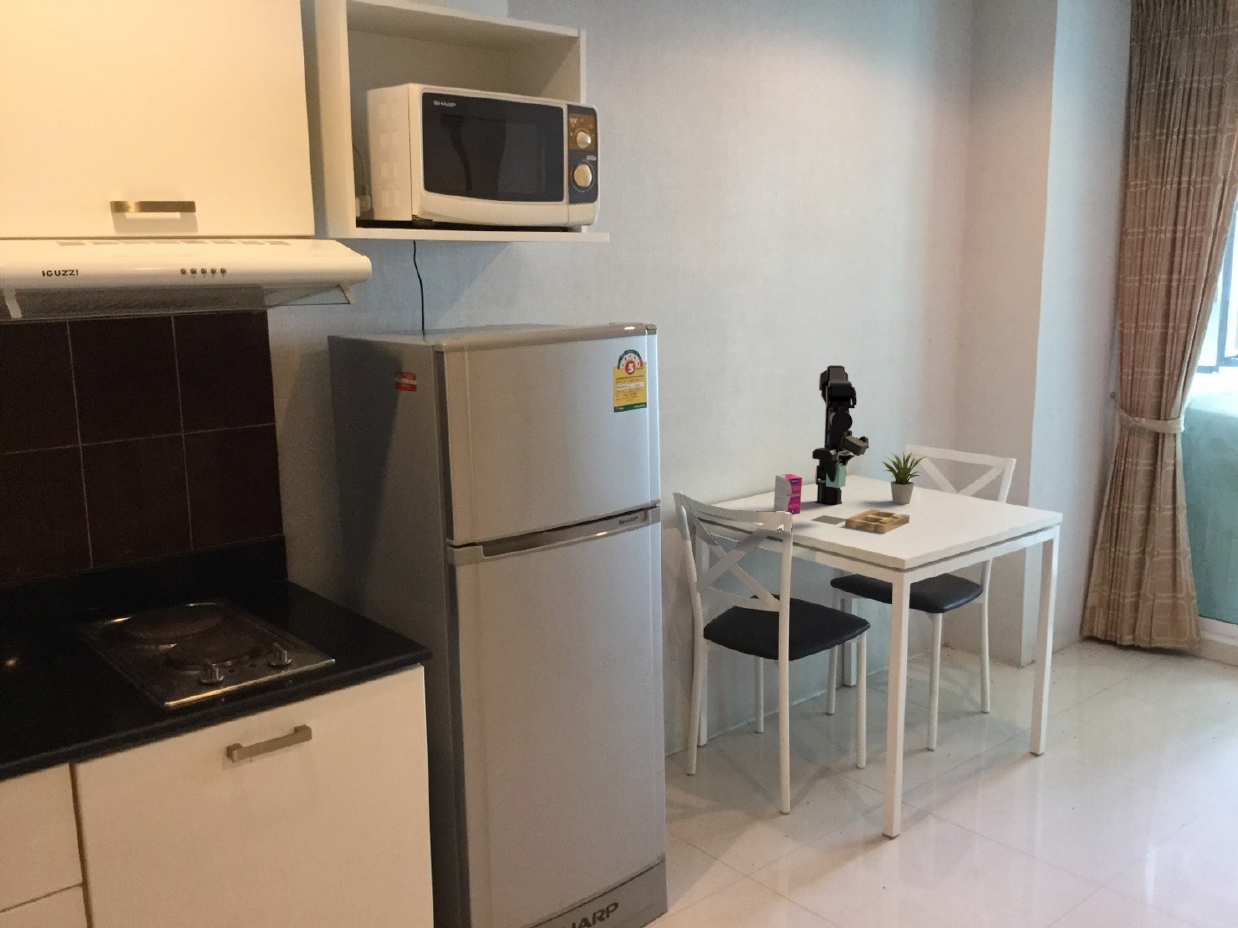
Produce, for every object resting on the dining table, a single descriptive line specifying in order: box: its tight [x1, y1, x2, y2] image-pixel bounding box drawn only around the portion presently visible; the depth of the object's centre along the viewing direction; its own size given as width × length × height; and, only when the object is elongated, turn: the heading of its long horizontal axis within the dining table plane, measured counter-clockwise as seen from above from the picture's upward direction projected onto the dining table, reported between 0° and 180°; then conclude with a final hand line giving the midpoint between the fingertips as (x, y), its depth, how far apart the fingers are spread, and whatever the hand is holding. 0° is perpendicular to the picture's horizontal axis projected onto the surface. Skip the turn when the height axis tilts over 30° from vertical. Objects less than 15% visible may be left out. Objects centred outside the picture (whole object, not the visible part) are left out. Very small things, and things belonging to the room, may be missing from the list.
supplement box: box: [773, 473, 803, 515], centre depth 316 cm, size 6×6×12 cm
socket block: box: [844, 508, 911, 534], centre depth 304 cm, size 12×16×3 cm
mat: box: [811, 514, 846, 526], centre depth 309 cm, size 8×8×1 cm
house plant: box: [882, 452, 927, 505], centre depth 333 cm, size 14×14×16 cm
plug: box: [826, 463, 847, 489], centre depth 305 cm, size 4×4×7 cm
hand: (835, 480), depth 306 cm, fingers closed on plug, 4 cm apart
